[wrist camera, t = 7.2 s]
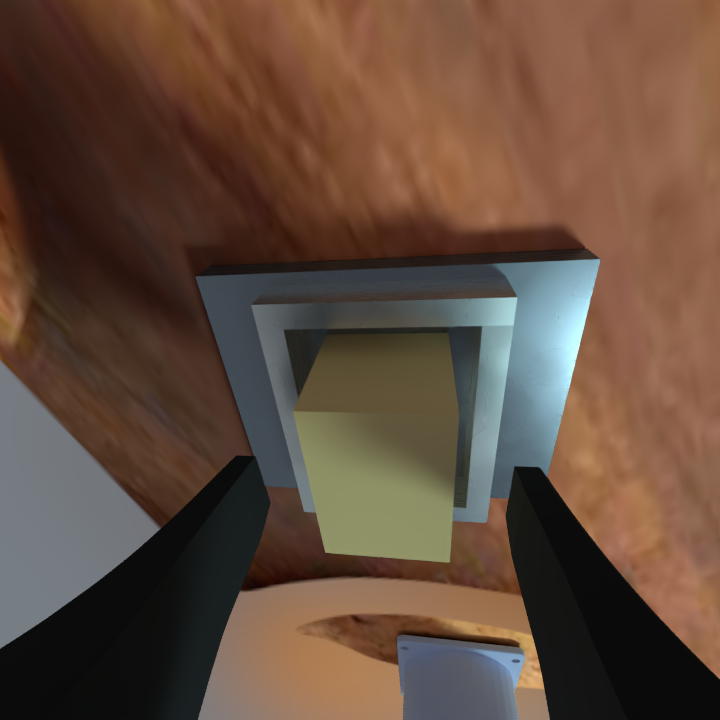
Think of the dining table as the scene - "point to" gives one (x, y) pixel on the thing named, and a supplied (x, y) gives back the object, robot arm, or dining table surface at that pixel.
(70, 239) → the dining table surface
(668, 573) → the dining table surface
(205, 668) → the robot arm
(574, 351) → the plate
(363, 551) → the block
